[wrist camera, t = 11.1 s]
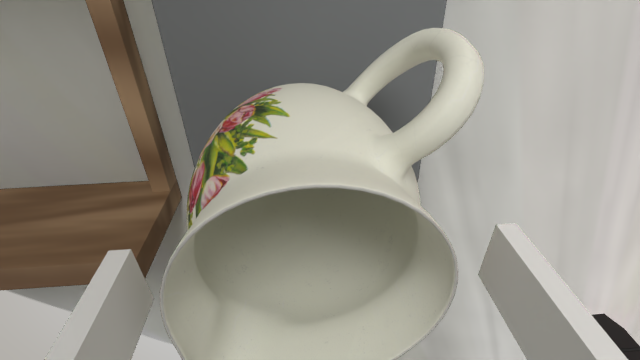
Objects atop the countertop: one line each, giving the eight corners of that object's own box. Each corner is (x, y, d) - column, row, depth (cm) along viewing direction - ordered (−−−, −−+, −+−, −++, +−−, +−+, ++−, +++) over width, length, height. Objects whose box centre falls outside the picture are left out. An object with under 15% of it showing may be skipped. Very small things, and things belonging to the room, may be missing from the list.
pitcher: (463, 70, 22) (671, 198, 10) (294, 247, 28) (303, 444, 17) (329, -63, 17) (425, -105, 6) (167, 184, 24) (62, 391, 13)
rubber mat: (134, -90, 17) (128, -91, 16) (456, -95, 18) (462, -97, 17) (221, 260, 30) (220, 267, 29) (403, 248, 31) (405, 254, 30)
